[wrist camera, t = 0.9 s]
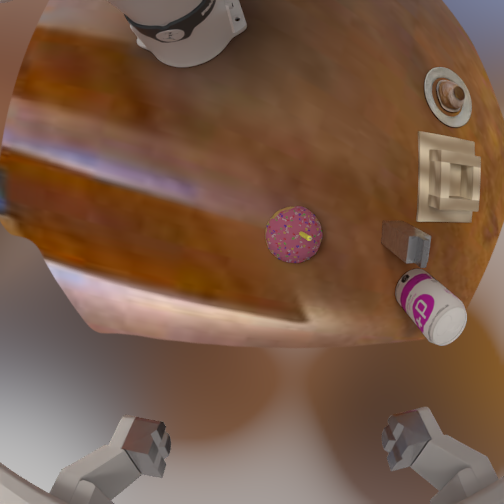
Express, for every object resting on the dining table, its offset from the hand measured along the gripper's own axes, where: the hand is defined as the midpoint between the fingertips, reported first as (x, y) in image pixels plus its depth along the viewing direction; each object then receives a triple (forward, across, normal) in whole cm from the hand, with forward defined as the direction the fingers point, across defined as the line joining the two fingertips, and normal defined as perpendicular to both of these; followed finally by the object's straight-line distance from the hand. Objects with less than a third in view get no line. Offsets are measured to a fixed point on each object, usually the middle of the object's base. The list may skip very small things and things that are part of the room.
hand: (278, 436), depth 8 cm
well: (+39, -34, -8) cm, 52 cm away
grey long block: (+39, -22, +2) cm, 45 cm away
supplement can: (+40, -28, +13) cm, 50 cm away
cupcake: (+39, -4, +2) cm, 40 cm away
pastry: (+40, -34, -24) cm, 58 cm away
